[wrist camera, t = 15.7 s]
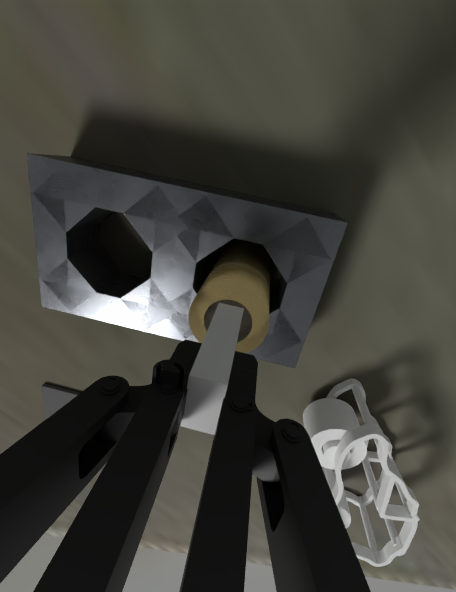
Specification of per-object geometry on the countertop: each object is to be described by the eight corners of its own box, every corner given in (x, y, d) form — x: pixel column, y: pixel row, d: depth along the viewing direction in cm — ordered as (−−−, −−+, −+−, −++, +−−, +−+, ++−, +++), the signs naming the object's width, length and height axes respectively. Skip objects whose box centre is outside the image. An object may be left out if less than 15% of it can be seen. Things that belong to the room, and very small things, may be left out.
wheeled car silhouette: (304, 374, 32) (312, 428, 25) (411, 381, 30) (451, 440, 23) (293, 490, 39) (297, 554, 33) (377, 500, 38) (400, 570, 31)
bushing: (214, 285, 29) (183, 346, 18) (223, 236, 26) (193, 276, 16) (263, 296, 28) (258, 364, 18) (275, 248, 26) (278, 295, 16)
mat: (52, 452, 44) (49, 455, 43) (44, 383, 38) (41, 385, 37) (139, 476, 43) (137, 479, 42) (145, 409, 37) (143, 412, 37)
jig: (75, 286, 31) (40, 306, 26) (70, 156, 26) (24, 153, 21) (291, 338, 30) (294, 369, 25) (333, 213, 24) (348, 223, 20)
